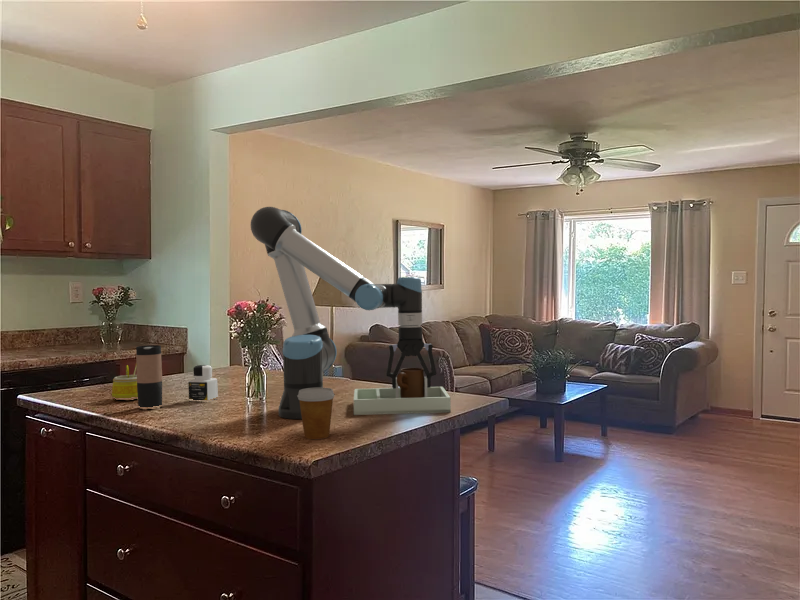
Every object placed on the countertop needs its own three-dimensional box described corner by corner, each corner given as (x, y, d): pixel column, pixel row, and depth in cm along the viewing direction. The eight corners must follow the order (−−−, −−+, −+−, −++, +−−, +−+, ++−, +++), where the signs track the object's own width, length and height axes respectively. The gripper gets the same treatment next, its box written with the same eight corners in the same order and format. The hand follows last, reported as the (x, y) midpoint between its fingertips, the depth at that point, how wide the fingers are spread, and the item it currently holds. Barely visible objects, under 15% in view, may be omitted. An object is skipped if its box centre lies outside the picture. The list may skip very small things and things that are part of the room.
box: (353, 414, 194) (353, 399, 193) (355, 402, 214) (354, 388, 213) (450, 412, 195) (450, 397, 195) (442, 400, 215) (442, 386, 215)
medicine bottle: (188, 401, 220) (187, 366, 220) (199, 398, 227) (198, 363, 227) (207, 402, 218) (206, 366, 218) (218, 398, 225) (217, 364, 225)
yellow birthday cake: (134, 402, 221) (133, 367, 221) (105, 402, 223) (104, 367, 223) (154, 395, 234) (153, 362, 234) (126, 395, 236) (125, 362, 235)
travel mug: (152, 405, 215) (150, 344, 215) (168, 407, 211) (166, 345, 211) (132, 409, 209) (130, 347, 208) (148, 411, 205) (146, 347, 204)
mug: (408, 404, 197) (408, 373, 197) (387, 401, 201) (387, 371, 201) (428, 397, 207) (428, 368, 207) (408, 395, 211) (408, 367, 211)
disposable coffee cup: (340, 433, 171) (339, 387, 170) (327, 441, 161) (326, 393, 161) (306, 431, 173) (305, 386, 173) (292, 440, 164) (291, 392, 163)
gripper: (376, 327, 199) (378, 401, 200) (445, 326, 201) (446, 399, 201) (376, 326, 207) (377, 397, 208) (442, 324, 208) (443, 395, 209)
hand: (411, 398), depth 204 cm, fingers closed on mug, 8 cm apart
